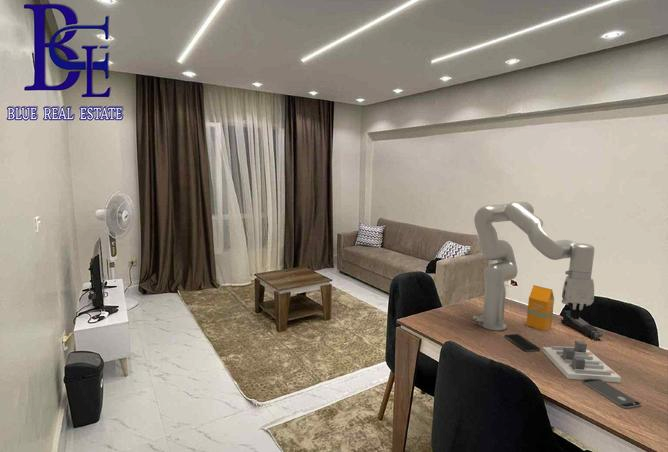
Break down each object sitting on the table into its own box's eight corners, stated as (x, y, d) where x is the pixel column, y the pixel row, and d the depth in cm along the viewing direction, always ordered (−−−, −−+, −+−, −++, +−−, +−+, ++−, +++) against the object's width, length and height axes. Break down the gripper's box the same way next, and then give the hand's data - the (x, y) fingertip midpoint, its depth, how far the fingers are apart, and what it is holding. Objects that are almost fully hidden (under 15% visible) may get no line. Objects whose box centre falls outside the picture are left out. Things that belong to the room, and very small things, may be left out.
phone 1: (525, 350, 154) (503, 334, 168) (525, 353, 154) (502, 337, 168) (541, 349, 155) (518, 333, 170) (541, 351, 155) (518, 336, 170)
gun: (565, 320, 187) (572, 305, 182) (595, 350, 169) (604, 334, 165) (557, 321, 186) (564, 306, 181) (587, 351, 169) (595, 335, 164)
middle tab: (565, 361, 142) (566, 350, 142) (562, 358, 145) (563, 347, 144) (573, 361, 142) (575, 351, 141) (570, 358, 144) (571, 348, 144)
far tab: (577, 354, 148) (578, 343, 148) (574, 350, 151) (575, 341, 150) (585, 354, 148) (586, 344, 147) (582, 351, 150) (583, 341, 150)
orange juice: (544, 331, 175) (549, 291, 172) (526, 325, 181) (529, 286, 178) (551, 326, 179) (555, 288, 177) (532, 321, 186) (536, 283, 183)
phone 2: (580, 382, 132) (624, 410, 117) (580, 380, 132) (624, 407, 117) (597, 380, 134) (642, 407, 119) (597, 377, 134) (642, 404, 118)
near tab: (575, 371, 135) (576, 360, 135) (571, 367, 138) (572, 356, 137) (583, 371, 135) (585, 360, 134) (580, 367, 138) (581, 357, 137)
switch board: (567, 378, 134) (568, 370, 133) (542, 351, 155) (543, 344, 154) (620, 382, 132) (621, 374, 131) (587, 354, 153) (588, 347, 152)
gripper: (564, 276, 142) (559, 320, 145) (605, 278, 140) (599, 323, 143) (555, 271, 149) (550, 313, 152) (594, 272, 148) (588, 315, 150)
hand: (574, 318), depth 148 cm, fingers closed
